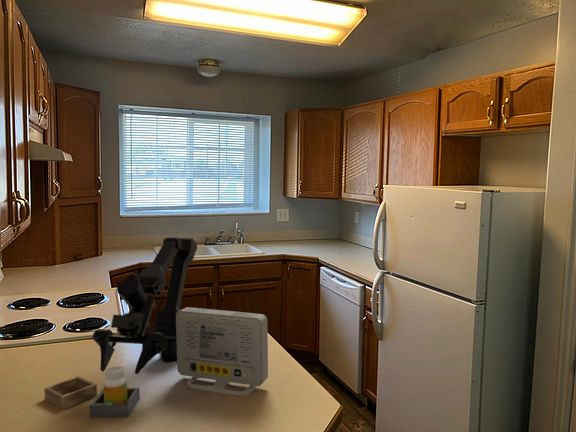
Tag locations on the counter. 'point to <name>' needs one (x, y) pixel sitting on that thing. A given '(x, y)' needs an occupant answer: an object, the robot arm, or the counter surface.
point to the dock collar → (114, 405)
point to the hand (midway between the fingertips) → (119, 372)
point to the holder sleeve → (65, 401)
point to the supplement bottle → (115, 385)
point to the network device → (222, 348)
